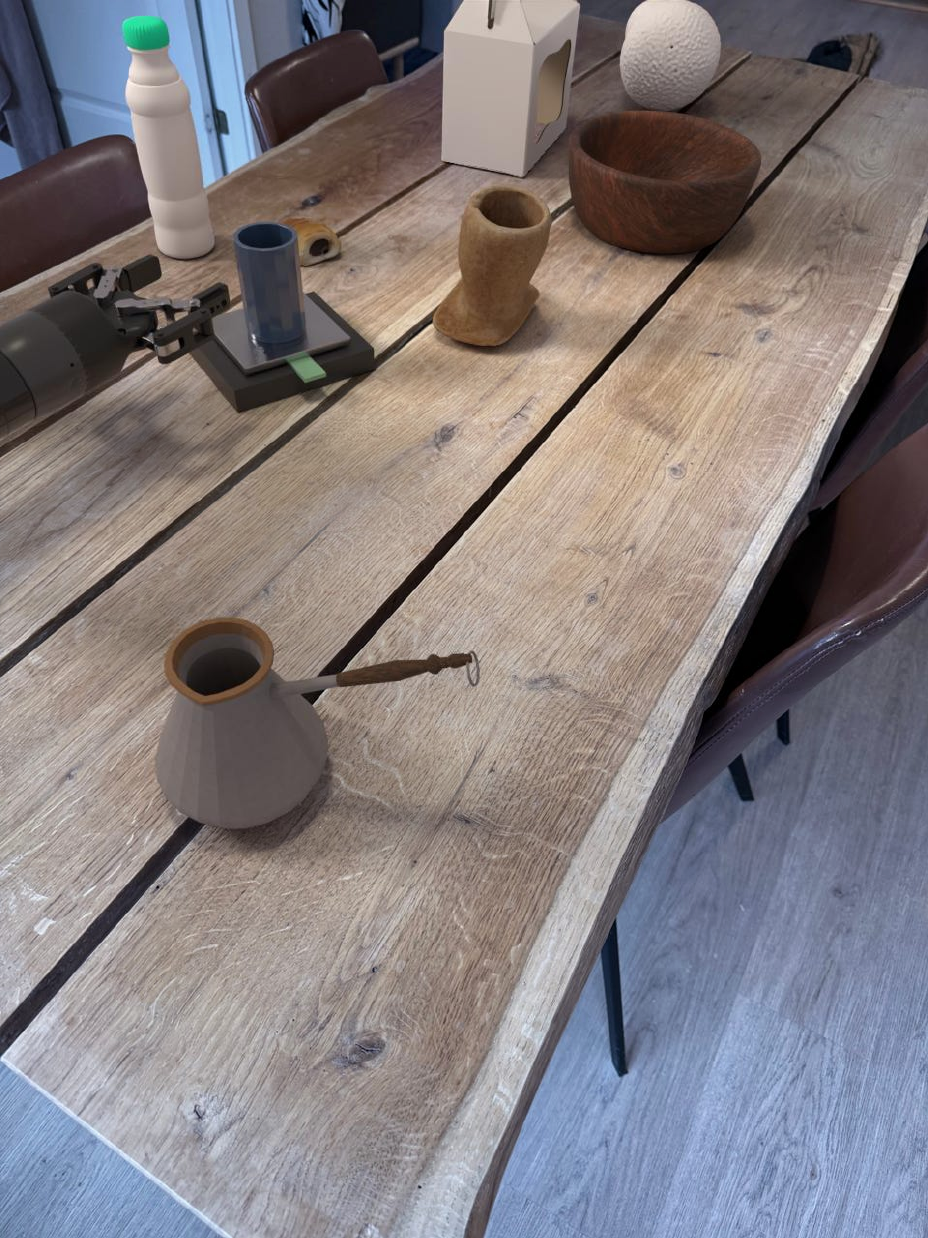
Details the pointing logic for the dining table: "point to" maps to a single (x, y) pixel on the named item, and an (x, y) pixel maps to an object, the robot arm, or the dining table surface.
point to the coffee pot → (251, 723)
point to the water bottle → (166, 142)
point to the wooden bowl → (659, 179)
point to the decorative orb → (669, 53)
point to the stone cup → (495, 265)
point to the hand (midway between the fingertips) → (191, 278)
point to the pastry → (314, 240)
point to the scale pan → (264, 355)
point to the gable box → (506, 81)
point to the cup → (270, 281)
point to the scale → (286, 368)
